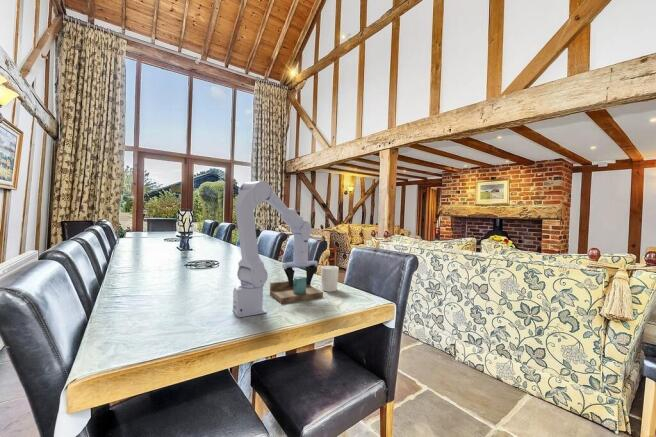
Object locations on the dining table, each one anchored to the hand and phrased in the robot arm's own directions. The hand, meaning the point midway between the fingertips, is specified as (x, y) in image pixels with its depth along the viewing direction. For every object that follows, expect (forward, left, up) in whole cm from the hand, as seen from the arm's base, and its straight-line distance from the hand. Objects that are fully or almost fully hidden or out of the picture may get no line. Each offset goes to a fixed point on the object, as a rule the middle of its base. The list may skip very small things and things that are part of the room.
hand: (299, 285), depth 112 cm
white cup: (+17, +5, -5) cm, 18 cm away
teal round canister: (0, 0, -3) cm, 3 cm away
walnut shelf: (0, +3, -5) cm, 6 cm away
